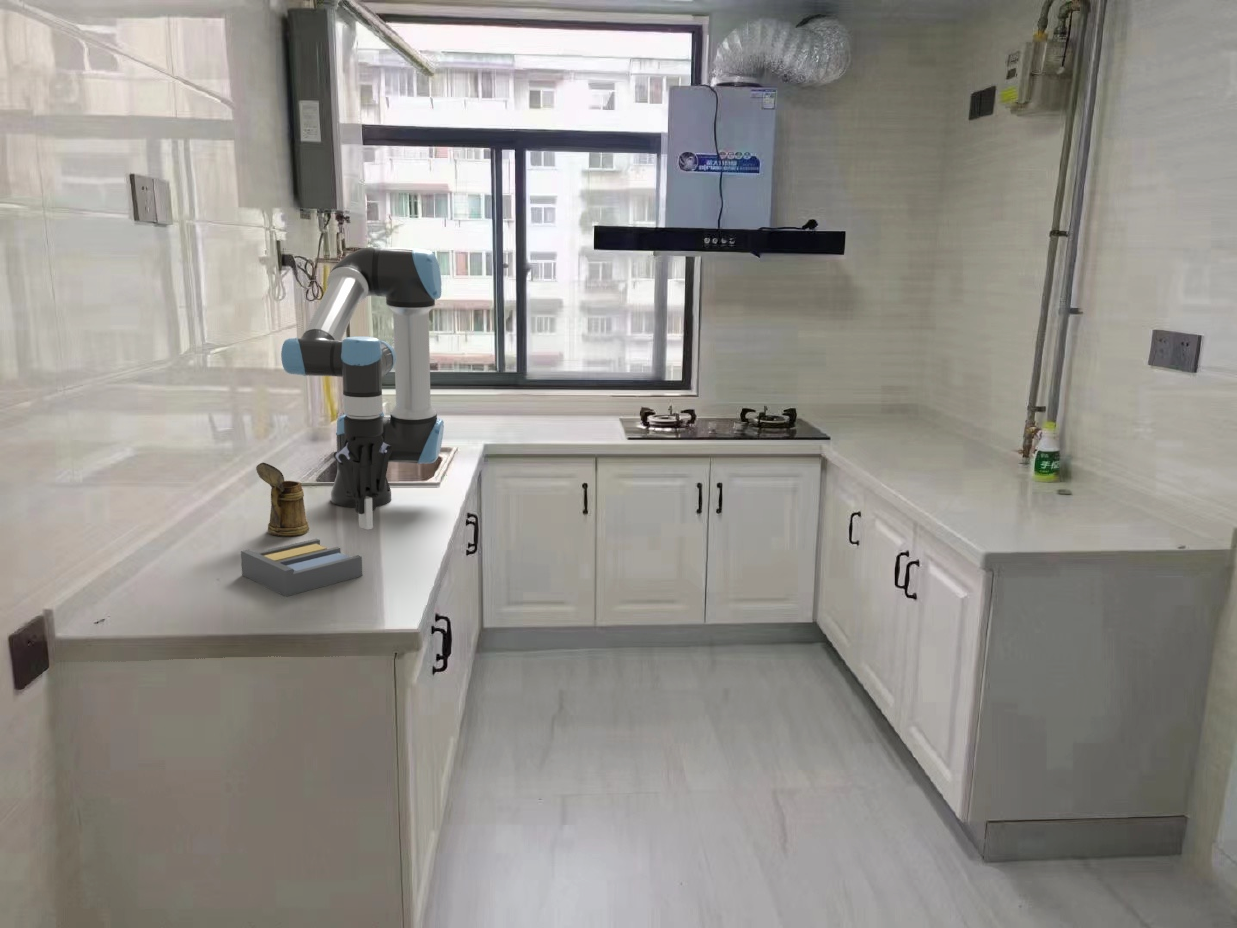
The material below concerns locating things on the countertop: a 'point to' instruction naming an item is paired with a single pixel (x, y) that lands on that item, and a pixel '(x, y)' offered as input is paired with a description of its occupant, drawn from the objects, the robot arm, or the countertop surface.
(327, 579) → the comb rack
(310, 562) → the bar blue
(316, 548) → the bar ochre
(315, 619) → the countertop surface
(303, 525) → the wooden mug
